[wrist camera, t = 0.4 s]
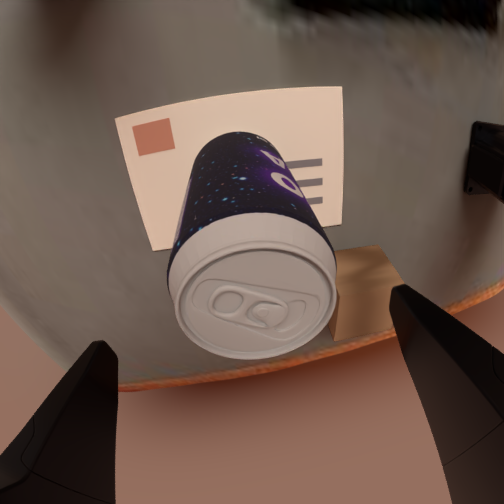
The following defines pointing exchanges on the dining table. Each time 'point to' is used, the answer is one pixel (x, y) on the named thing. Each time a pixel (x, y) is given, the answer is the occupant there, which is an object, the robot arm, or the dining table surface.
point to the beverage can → (249, 254)
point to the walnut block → (362, 292)
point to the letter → (234, 120)
